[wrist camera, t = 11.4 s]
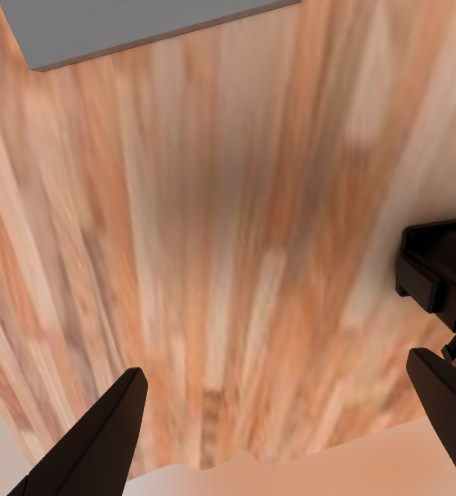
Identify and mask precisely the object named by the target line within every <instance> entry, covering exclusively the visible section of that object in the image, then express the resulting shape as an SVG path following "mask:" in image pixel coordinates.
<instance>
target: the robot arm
mask: <svg viewBox="0 0 456 496" xmlns="http://www.w3.org/2000/svg"><path fill="white" fill-rule="evenodd" d="M411 232H413V234H412V235H410V233H411ZM396 281H397V286H396V292H397V293H398V294H399V295H400V296H401V297H406V296H411V297H412V298H413V299H414V300H415V301H416V302H417V303H418V304H419V305H420V306H421V307H422V308H423V309H424V310H425V311H426V312H428V313H429V314H432V313H434V314H435V315H436V316H437V317H438V318H439V319H440V320H441V321H442V322H443V323H444V324H445V325H446V326H447V327H448V328H449V329H450V330H451V331H452V332H453V333H456V220H450V221H443V222H437V223H431V224H424V225H418V226H411V227H408V228H407V229H405V231H404V233H403V239H402V247H401V254H400V255H399V259H398V267H397V275H396ZM403 290H404V291H403ZM441 352H442V354H443V357H444V359H445V360H444V359H442V358H441V357H439V356H438V355H436V354H435V353H433V352H432V351H430V350H429V349H427V348H412V349H411V350H410V351H409V355H408V359H407V364H406V369H407V373H408V375H409V377H410V379H411V382H412V384H413V386H414V388H415V390H416V392H417V394H418V397H419V399H420V401H421V403H422V405H423V407H424V410H425V412H426V414H427V416H428V418H429V420H430V422H431V424H432V426H433V428H434V430H435V431H436V433H437V435H438V437H439V439H440V440H441V442H442V444H443V446H444V447H445V449H446V451H447V452H448V454H449V456H450V458H451V459H452V461H453V463H454V465H455V466H456V335H455V336H454V338H453V339H452V340H451V341H450V342H449V344H448V345H447V344H446V345H445V346H444V347H443V348H442V349H441ZM147 390H148V382H147V379H146V377H145V375H144V373H143V371H142V369H141V368H140V367H134V368H129V369H127V370H126V371H125V372H124V373H123V374H122V375H121V377H120V378H119V379H118V380H117V381H116V382H115V383H114V384H113V385H112V386H111V387H110V388H109V389H108V390H107V391H106V392H105V393H104V394H103V395H102V396H101V398H100V399H99V400H98V401H97V402H96V403H95V404H94V405H93V406H92V407H91V408H90V409H89V410H88V411H87V412H86V413H85V414H84V415H83V416H82V417H81V419H80V420H79V421H78V422H77V423H76V424H75V425H74V426H73V427H72V428H71V429H70V430H69V431H68V432H67V433H66V434H65V435H64V436H63V437H62V438H61V440H60V441H59V442H58V443H57V444H56V445H55V446H54V447H53V448H52V449H51V450H50V451H49V452H48V453H47V454H46V455H45V456H44V457H43V458H42V459H41V461H40V462H39V463H38V464H37V465H36V466H35V467H34V468H33V469H32V470H31V471H30V472H29V475H26V476H25V477H24V478H23V479H22V480H21V481H20V482H19V483H18V485H17V486H16V487H15V488H14V489H13V490H12V491H11V492H10V493H9V494H8V495H7V496H122V493H123V490H124V487H125V483H126V480H127V476H128V472H129V469H130V465H131V462H132V458H133V455H134V451H135V448H136V444H137V441H138V437H139V432H140V427H141V422H142V417H143V412H144V406H145V401H146V396H147Z"/></svg>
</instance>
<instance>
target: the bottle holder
mask: <svg viewBox="0 0 456 496" xmlns="http://www.w3.org/2000/svg"><path fill="white" fill-rule="evenodd" d="M298 2H302V0H0V5H1V8H2V10H3V12H4V14H5V16H6V19H7V21H8V23H9V25H10V27H11V29H12V32H13V34H14V36H15V38H16V40H17V43H18V45H19V47H20V49H21V51H22V53H23V56H24V58H25V60H26V62H27V64H28V66H29V69H30V70H34V71H39V72H44V71H48V70H51V69H55V68H59V67H62V66H66V65H70V64H73V63H77V62H81V61H85V60H88V59H92V58H96V57H99V56H103V55H107V54H110V53H114V52H118V51H121V50H125V49H129V48H132V47H136V46H140V45H143V44H147V43H151V42H154V41H158V40H162V39H166V38H169V37H173V36H177V35H180V34H184V33H188V32H191V31H195V30H199V29H202V28H206V27H210V26H213V25H217V24H221V23H224V22H228V21H232V20H235V19H239V18H243V17H247V16H250V15H254V14H258V13H261V12H265V11H269V10H272V9H276V8H280V7H283V6H287V5H291V4H294V3H298Z"/></svg>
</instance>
